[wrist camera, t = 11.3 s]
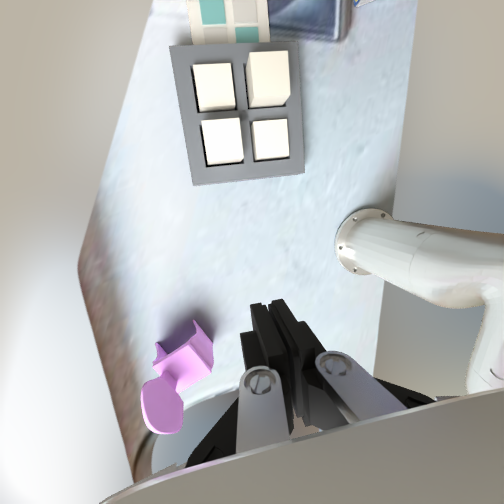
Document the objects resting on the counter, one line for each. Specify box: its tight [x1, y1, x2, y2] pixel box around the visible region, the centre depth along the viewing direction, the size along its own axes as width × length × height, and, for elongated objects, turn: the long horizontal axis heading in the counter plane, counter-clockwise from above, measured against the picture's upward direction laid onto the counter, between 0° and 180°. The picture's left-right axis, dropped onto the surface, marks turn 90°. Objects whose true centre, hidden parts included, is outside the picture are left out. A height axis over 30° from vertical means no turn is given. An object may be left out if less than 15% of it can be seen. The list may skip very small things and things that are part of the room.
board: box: [169, 0, 305, 186], centre depth 33 cm, size 17×24×4 cm
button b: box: [201, 118, 244, 165], centre depth 32 cm, size 5×5×4 cm
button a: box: [250, 119, 289, 162], centre depth 35 cm, size 5×5×4 cm
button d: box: [193, 63, 235, 113], centre depth 32 cm, size 5×5×4 cm
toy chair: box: [141, 320, 214, 434], centre depth 36 cm, size 8×9×15 cm
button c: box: [245, 51, 291, 109], centre depth 31 cm, size 5×5×4 cm
